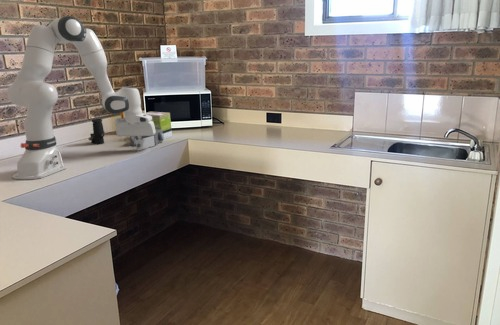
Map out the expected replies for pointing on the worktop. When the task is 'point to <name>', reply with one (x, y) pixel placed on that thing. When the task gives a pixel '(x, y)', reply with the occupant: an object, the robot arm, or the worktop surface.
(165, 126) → the tea box
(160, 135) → the box
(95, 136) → the scope
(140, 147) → the side door
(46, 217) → the worktop surface
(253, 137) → the worktop surface
